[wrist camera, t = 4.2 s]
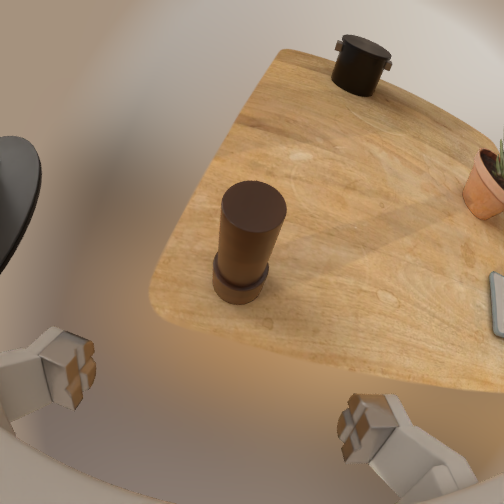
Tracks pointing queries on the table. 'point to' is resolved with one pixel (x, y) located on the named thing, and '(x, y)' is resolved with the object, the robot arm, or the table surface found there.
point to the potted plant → (486, 184)
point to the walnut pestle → (246, 240)
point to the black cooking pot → (359, 65)
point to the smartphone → (497, 302)
